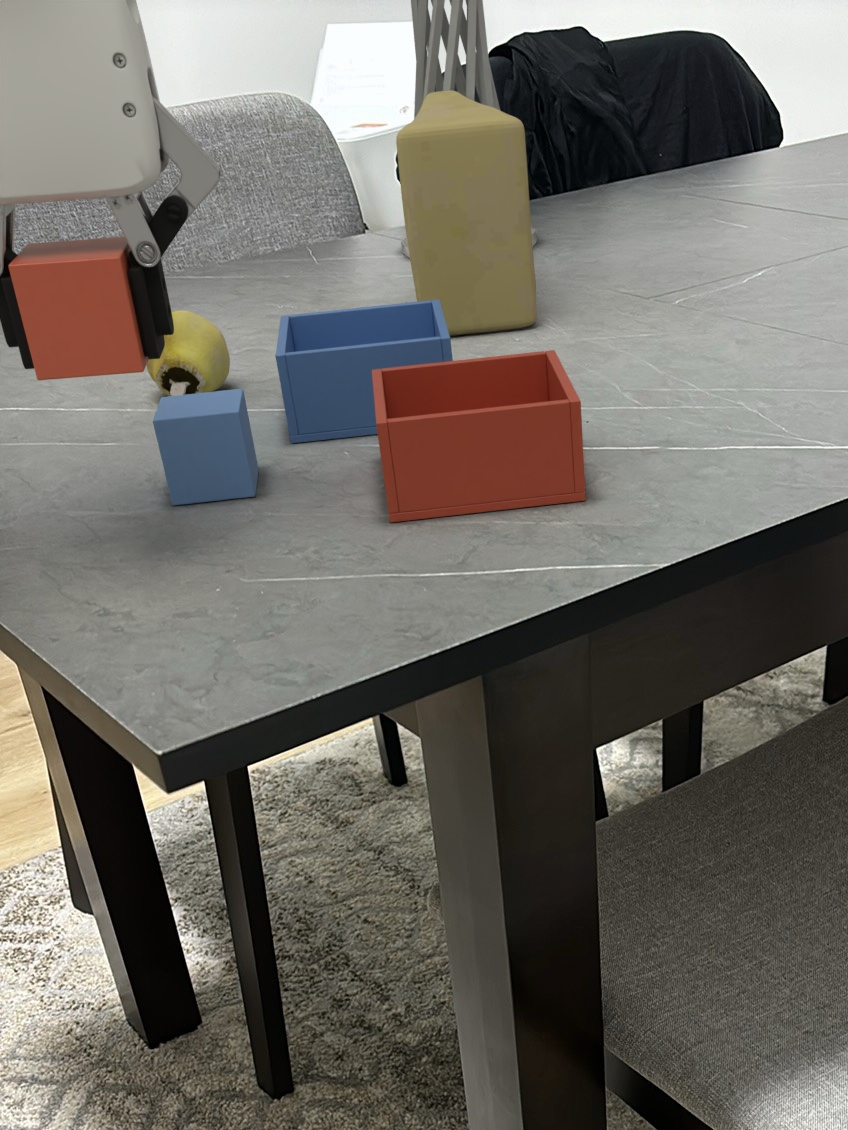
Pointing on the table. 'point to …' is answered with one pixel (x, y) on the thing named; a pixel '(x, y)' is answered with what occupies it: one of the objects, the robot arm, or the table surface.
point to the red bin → (478, 435)
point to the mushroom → (191, 357)
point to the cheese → (468, 213)
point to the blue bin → (351, 362)
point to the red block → (78, 308)
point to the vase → (452, 56)
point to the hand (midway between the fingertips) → (95, 352)
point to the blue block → (206, 446)
